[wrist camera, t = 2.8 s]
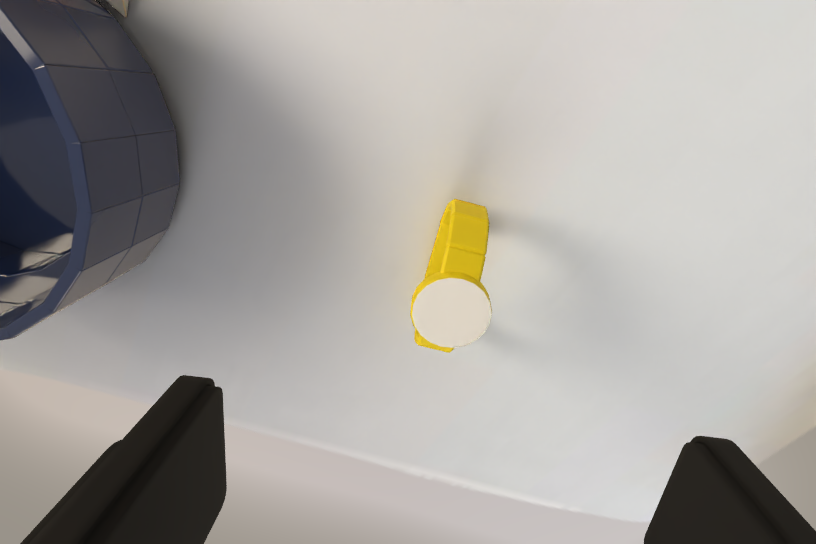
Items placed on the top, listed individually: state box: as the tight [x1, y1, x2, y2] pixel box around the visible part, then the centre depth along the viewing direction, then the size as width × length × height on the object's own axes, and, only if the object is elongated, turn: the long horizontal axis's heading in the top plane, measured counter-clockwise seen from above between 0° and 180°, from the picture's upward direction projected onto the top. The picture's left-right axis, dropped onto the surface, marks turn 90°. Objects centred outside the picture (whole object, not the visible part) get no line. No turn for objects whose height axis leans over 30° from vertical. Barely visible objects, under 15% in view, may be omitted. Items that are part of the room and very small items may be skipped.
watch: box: [410, 199, 492, 353], centre depth 18 cm, size 6×3×6 cm, turn 166°
